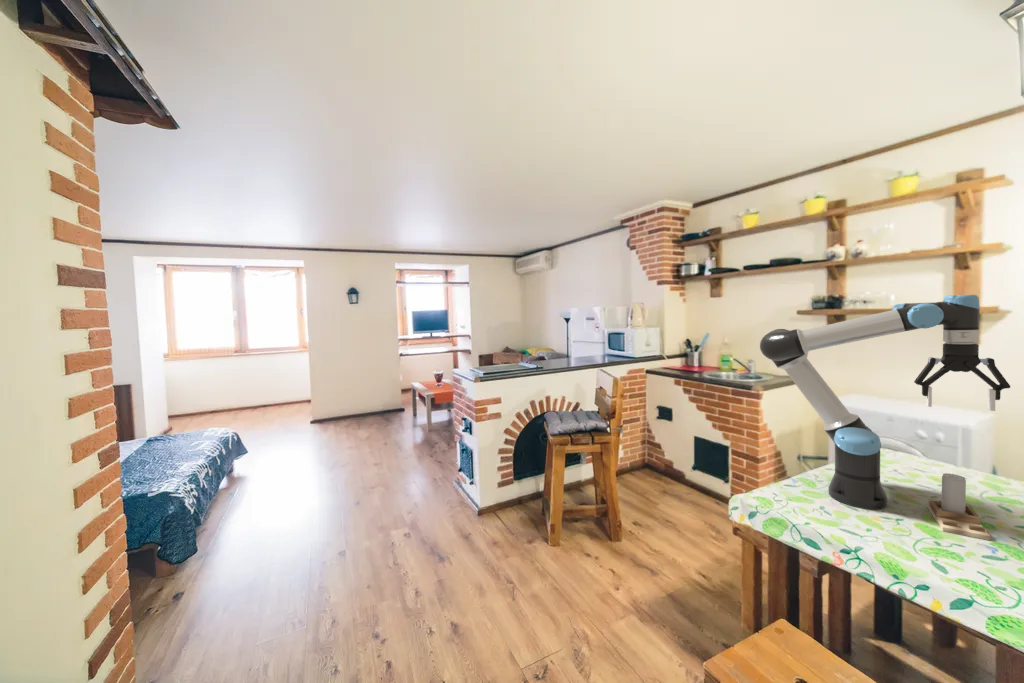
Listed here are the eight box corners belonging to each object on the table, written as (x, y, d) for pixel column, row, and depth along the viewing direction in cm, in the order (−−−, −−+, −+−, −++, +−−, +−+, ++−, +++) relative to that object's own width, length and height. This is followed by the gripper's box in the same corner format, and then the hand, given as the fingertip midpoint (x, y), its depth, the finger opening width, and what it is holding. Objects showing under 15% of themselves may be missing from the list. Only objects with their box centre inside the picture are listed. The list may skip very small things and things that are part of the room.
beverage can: (970, 518, 115) (971, 480, 114) (950, 518, 116) (951, 479, 115) (955, 510, 120) (956, 473, 119) (936, 510, 121) (937, 472, 120)
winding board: (942, 531, 112) (943, 520, 112) (927, 507, 125) (927, 498, 124) (990, 540, 106) (990, 529, 106) (969, 514, 119) (969, 504, 119)
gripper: (908, 344, 128) (907, 406, 129) (1028, 343, 113) (1026, 414, 114) (903, 342, 134) (902, 402, 135) (1016, 341, 119) (1014, 409, 120)
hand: (959, 407), depth 125 cm, fingers open, 13 cm apart
